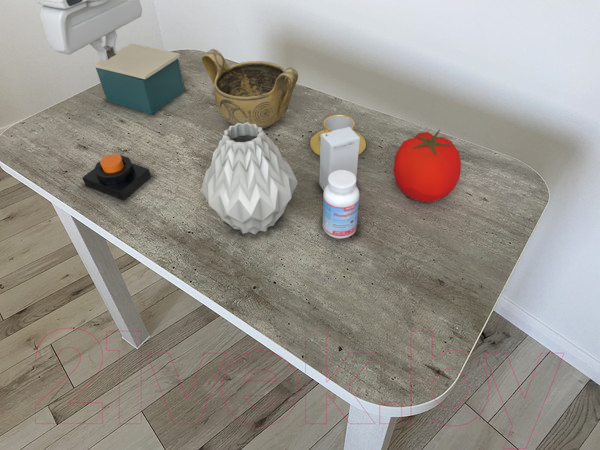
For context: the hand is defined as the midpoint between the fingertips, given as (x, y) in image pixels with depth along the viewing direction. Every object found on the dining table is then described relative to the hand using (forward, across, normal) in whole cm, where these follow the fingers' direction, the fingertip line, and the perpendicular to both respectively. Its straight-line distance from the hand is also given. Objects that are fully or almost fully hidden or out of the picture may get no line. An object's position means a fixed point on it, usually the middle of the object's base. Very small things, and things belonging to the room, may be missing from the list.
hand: (108, 57), depth 93 cm
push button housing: (+20, +12, +6) cm, 24 cm away
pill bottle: (+20, +5, +51) cm, 55 cm away
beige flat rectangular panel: (+11, -17, -11) cm, 23 cm away
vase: (+20, +10, +36) cm, 43 cm away
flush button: (+16, +12, +6) cm, 21 cm away
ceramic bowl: (+20, -19, +20) cm, 34 cm away
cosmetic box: (+20, -5, +47) cm, 51 cm away
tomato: (+20, -11, +62) cm, 66 cm away
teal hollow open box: (+20, -17, -11) cm, 28 cm away
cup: (+20, -18, +41) cm, 49 cm away
